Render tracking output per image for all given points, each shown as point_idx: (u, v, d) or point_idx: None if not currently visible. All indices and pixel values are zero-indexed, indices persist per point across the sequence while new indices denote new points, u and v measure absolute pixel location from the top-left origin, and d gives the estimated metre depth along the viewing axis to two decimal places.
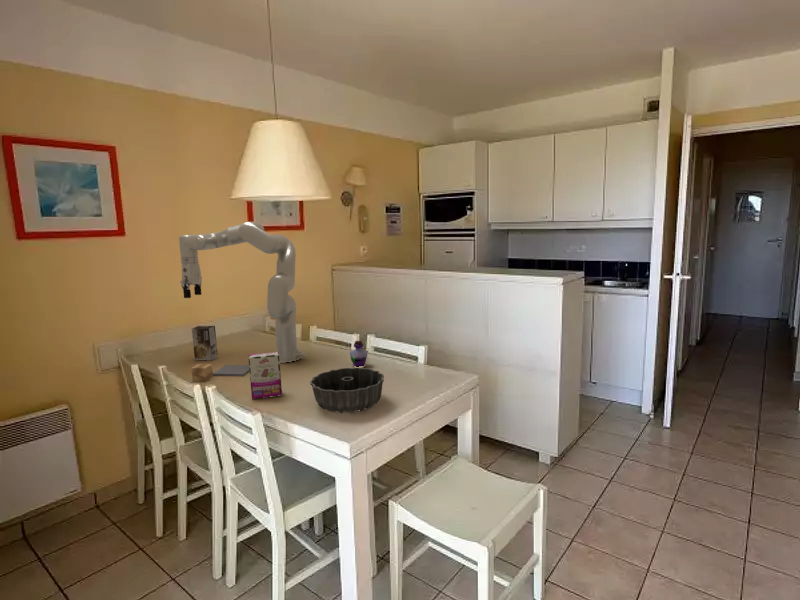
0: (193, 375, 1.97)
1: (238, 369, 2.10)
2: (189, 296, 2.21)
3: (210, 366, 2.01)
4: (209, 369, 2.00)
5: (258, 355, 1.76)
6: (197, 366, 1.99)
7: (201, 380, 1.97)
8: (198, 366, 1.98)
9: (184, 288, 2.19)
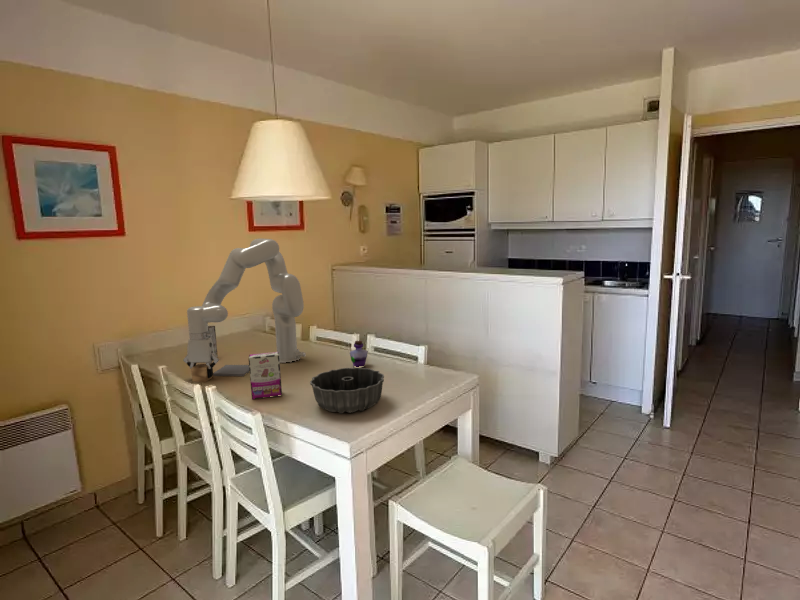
0: (193, 375, 1.97)
1: (238, 369, 2.10)
2: None
3: None
4: None
5: (258, 355, 1.76)
6: (197, 366, 1.99)
7: (201, 380, 1.97)
8: (198, 366, 1.98)
9: (212, 366, 1.99)
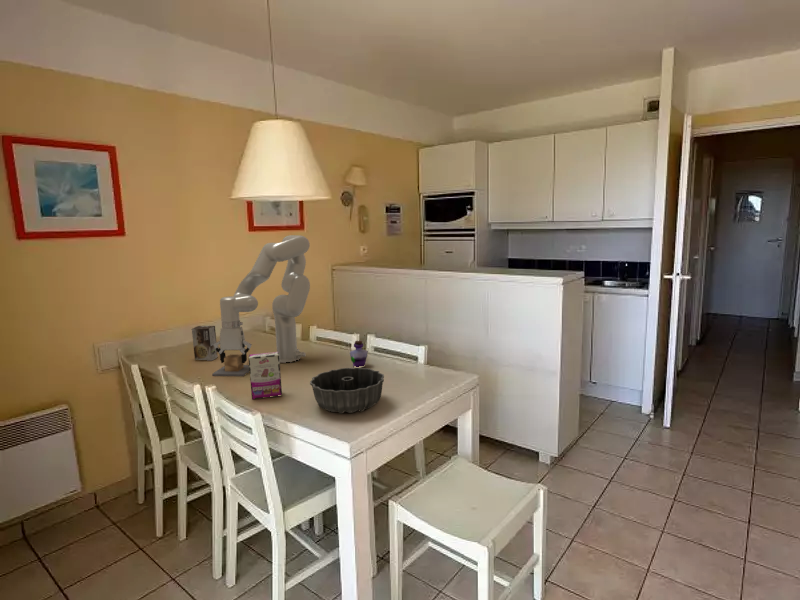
0: (225, 365, 2.07)
1: None
2: (245, 360, 2.10)
3: None
4: (240, 359, 2.09)
5: (258, 355, 1.76)
6: (229, 356, 2.09)
7: (233, 370, 2.07)
8: (230, 357, 2.08)
9: (246, 352, 2.08)
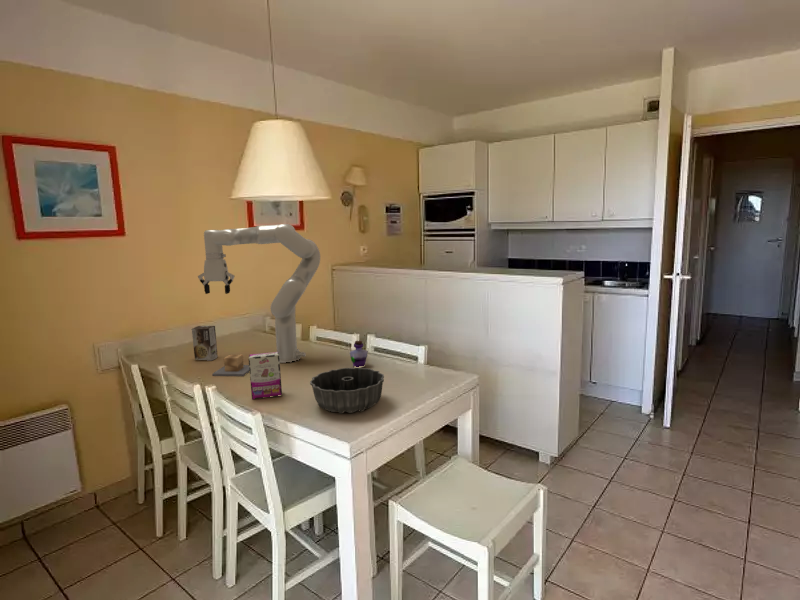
0: (225, 365, 2.07)
1: None
2: None
3: (241, 356, 2.11)
4: (240, 359, 2.09)
5: (258, 355, 1.76)
6: (229, 356, 2.09)
7: (233, 370, 2.07)
8: (230, 357, 2.08)
9: (230, 283, 2.18)
